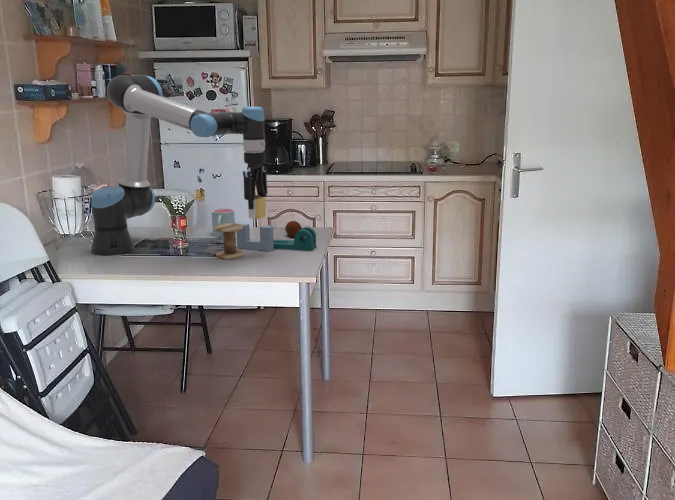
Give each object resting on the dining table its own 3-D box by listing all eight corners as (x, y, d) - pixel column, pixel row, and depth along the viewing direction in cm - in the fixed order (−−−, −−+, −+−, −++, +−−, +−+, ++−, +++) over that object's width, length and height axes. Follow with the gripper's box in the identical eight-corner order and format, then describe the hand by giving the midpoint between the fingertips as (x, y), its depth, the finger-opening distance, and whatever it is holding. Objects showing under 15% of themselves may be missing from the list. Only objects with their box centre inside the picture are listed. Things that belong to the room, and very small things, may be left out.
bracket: (316, 247, 242) (315, 227, 240) (311, 251, 235) (311, 231, 233) (271, 244, 246) (271, 225, 244) (266, 249, 239) (265, 228, 237)
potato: (283, 238, 255) (282, 222, 253) (287, 233, 264) (286, 218, 262) (300, 238, 254) (299, 223, 253) (303, 233, 263) (303, 218, 262)
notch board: (237, 248, 240) (236, 225, 238) (241, 246, 243) (240, 223, 241) (270, 251, 235) (269, 227, 233) (273, 249, 238) (273, 226, 236)
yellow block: (248, 218, 224) (247, 196, 222) (256, 215, 229) (255, 193, 227) (258, 219, 223) (257, 196, 221) (265, 216, 228) (265, 194, 226)
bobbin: (211, 257, 227) (209, 228, 224) (225, 251, 236) (223, 222, 233) (235, 260, 223) (234, 230, 221) (249, 253, 233) (247, 224, 230)
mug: (215, 231, 267) (214, 208, 265) (237, 231, 267) (236, 208, 264) (208, 239, 254) (206, 215, 252) (230, 239, 254) (229, 215, 251)
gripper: (251, 154, 211) (253, 222, 217) (276, 149, 227) (277, 212, 233) (231, 153, 213) (234, 220, 219) (257, 148, 230) (259, 210, 236)
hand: (256, 216), depth 226 cm, fingers closed on yellow block, 5 cm apart
